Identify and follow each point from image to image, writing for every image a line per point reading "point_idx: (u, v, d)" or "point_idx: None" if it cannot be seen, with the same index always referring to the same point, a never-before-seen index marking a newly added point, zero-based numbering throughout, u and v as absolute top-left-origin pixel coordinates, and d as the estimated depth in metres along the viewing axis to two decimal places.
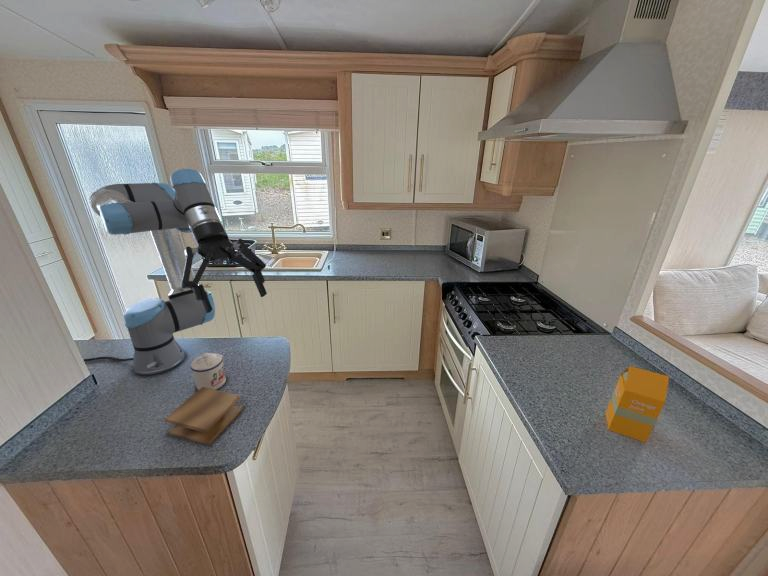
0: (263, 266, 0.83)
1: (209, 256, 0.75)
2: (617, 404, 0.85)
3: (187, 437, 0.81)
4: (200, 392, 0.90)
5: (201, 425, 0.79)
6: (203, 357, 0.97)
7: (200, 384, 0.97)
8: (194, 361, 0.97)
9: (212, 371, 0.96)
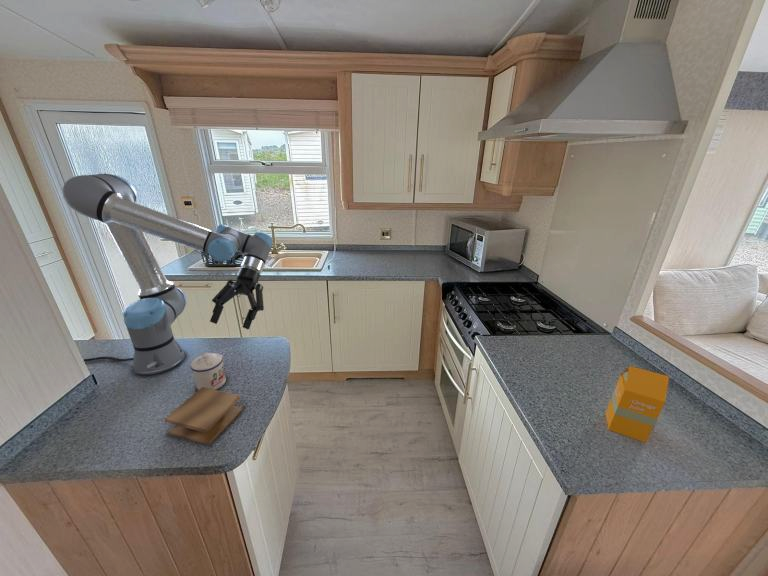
0: None
1: None
2: (617, 404, 0.85)
3: (187, 437, 0.81)
4: (200, 392, 0.90)
5: (201, 425, 0.79)
6: (203, 357, 0.97)
7: (200, 384, 0.97)
8: (194, 361, 0.97)
9: (212, 371, 0.96)
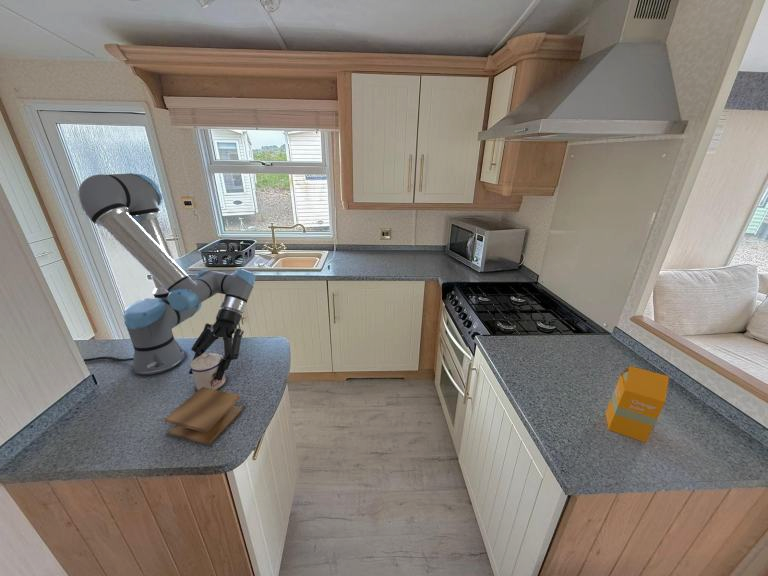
0: None
1: None
2: (617, 404, 0.85)
3: (187, 437, 0.81)
4: (200, 392, 0.90)
5: (201, 425, 0.79)
6: (202, 357, 0.97)
7: (199, 384, 0.97)
8: (194, 361, 0.97)
9: (211, 371, 0.96)
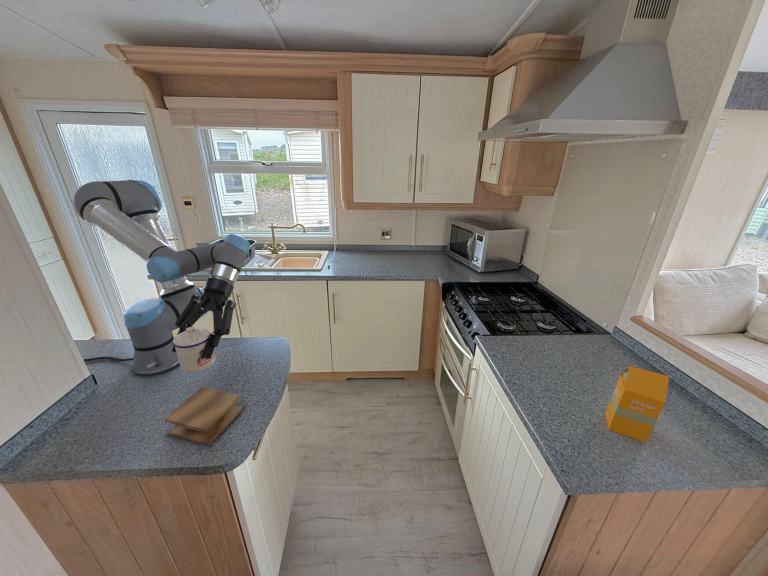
0: None
1: None
2: (617, 404, 0.85)
3: (187, 437, 0.81)
4: (200, 392, 0.90)
5: (201, 425, 0.79)
6: (188, 331, 0.83)
7: (184, 363, 0.83)
8: (177, 336, 0.83)
9: (198, 347, 0.82)
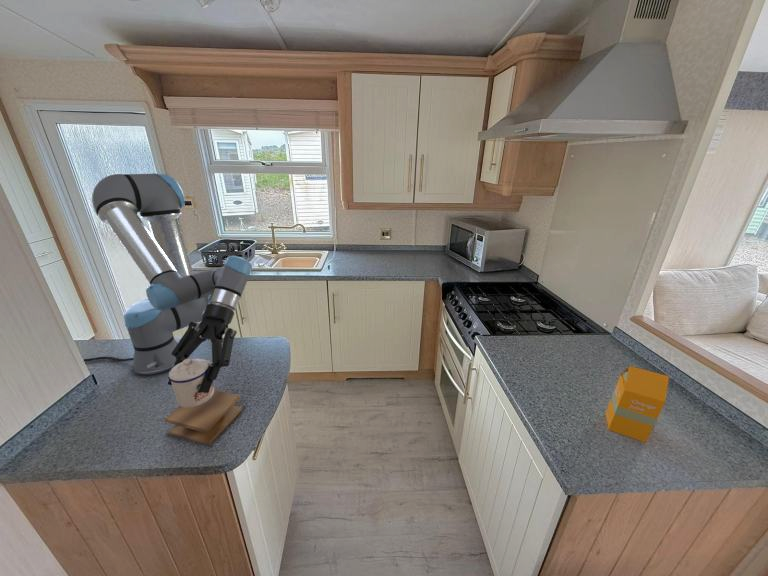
0: None
1: None
2: (617, 404, 0.85)
3: (187, 437, 0.81)
4: None
5: (201, 425, 0.79)
6: (184, 364, 0.77)
7: (180, 398, 0.77)
8: (173, 369, 0.78)
9: (195, 381, 0.77)
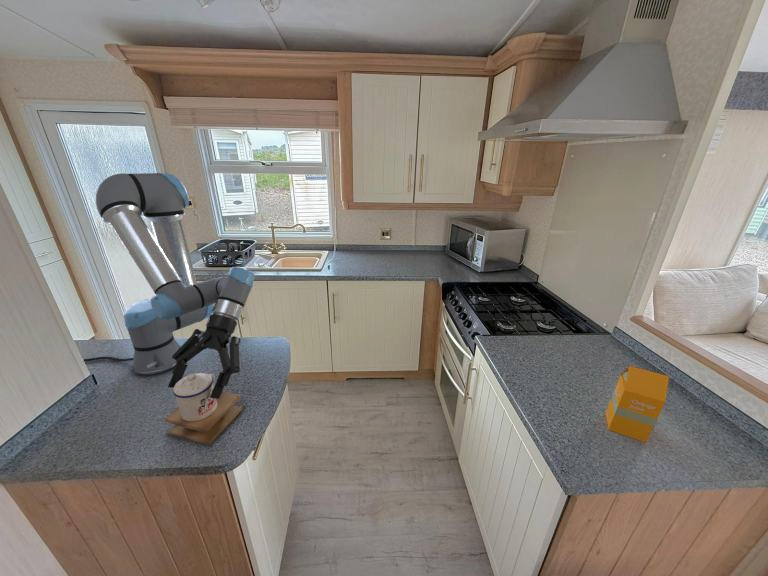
0: None
1: None
2: (617, 404, 0.85)
3: (187, 437, 0.81)
4: None
5: (201, 425, 0.79)
6: (189, 379, 0.79)
7: (184, 412, 0.79)
8: (178, 384, 0.79)
9: (199, 396, 0.78)
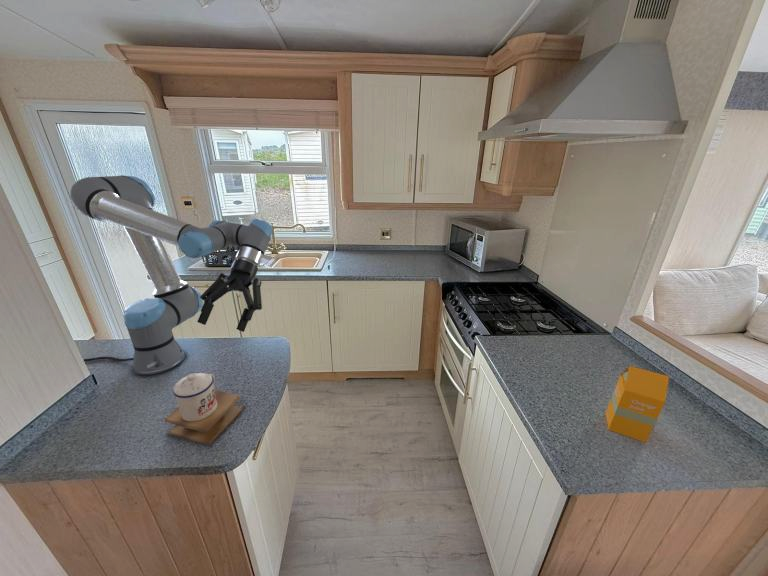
0: None
1: None
2: (617, 404, 0.85)
3: (187, 437, 0.81)
4: None
5: (201, 425, 0.79)
6: (189, 379, 0.79)
7: (184, 412, 0.79)
8: (178, 384, 0.79)
9: (199, 396, 0.78)
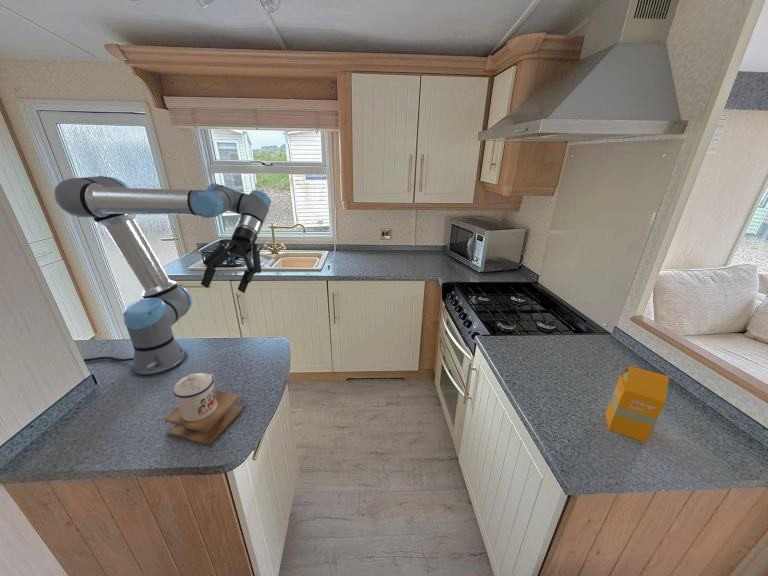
0: None
1: None
2: (617, 404, 0.85)
3: (187, 437, 0.81)
4: None
5: (201, 425, 0.79)
6: (189, 379, 0.79)
7: (184, 412, 0.79)
8: (178, 384, 0.79)
9: (199, 396, 0.78)
